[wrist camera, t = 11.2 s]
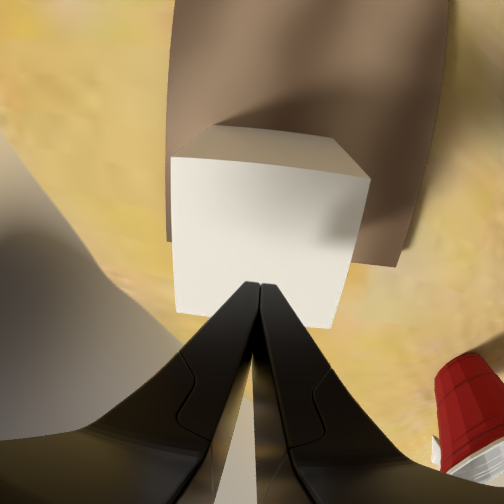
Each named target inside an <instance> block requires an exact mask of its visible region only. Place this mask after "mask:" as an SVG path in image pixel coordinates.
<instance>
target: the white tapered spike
mask: <svg viewBox="0 0 504 504" xmlns="http://www.w3.org/2000/svg"><path fill="white" fill-rule="evenodd" d="M432 453H433V454H432V456H431V461H432V462H433V463H434V464H436V465H438V466H439V467H440V468H441V465H440V460H441V450H440V445H439V444H438V442H437V441H436V440H435V438H434V437H433V436H432Z"/></svg>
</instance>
